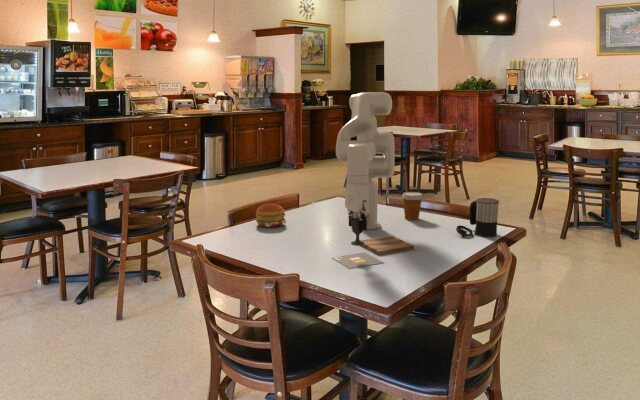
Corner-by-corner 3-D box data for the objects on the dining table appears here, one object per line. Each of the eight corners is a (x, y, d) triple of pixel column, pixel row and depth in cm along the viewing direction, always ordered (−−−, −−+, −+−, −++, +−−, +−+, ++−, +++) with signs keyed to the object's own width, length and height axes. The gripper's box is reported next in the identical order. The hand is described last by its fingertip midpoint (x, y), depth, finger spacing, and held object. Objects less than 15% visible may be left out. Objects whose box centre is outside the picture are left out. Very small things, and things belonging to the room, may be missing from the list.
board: (357, 244, 228) (357, 240, 228) (392, 239, 235) (392, 235, 235) (378, 255, 214) (378, 251, 214) (414, 249, 221) (414, 245, 221)
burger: (260, 221, 268) (259, 200, 266) (288, 222, 266) (288, 200, 264) (252, 228, 255) (252, 206, 253) (282, 229, 253) (282, 207, 251)
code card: (331, 257, 212) (331, 257, 212) (364, 252, 217) (364, 252, 217) (349, 268, 199) (349, 268, 199) (383, 263, 205) (384, 262, 205)
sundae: (347, 241, 211) (347, 201, 207) (365, 240, 211) (365, 200, 208) (349, 246, 204) (349, 205, 201) (368, 246, 205) (368, 205, 202)
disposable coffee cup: (401, 220, 265) (401, 195, 263) (401, 216, 275) (402, 191, 272) (422, 221, 264) (422, 195, 261) (422, 216, 273) (422, 191, 271)
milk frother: (501, 234, 241) (503, 199, 238) (482, 242, 230) (484, 205, 227) (471, 228, 251) (472, 195, 248) (451, 235, 240) (453, 200, 237)
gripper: (337, 176, 209) (337, 223, 213) (360, 184, 193) (360, 235, 197) (355, 174, 212) (355, 221, 216) (379, 182, 196) (378, 232, 200)
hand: (357, 227), depth 206 cm, fingers closed on sundae, 6 cm apart
